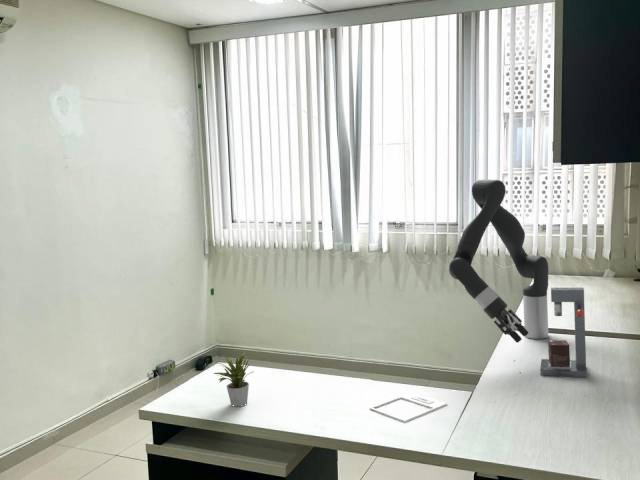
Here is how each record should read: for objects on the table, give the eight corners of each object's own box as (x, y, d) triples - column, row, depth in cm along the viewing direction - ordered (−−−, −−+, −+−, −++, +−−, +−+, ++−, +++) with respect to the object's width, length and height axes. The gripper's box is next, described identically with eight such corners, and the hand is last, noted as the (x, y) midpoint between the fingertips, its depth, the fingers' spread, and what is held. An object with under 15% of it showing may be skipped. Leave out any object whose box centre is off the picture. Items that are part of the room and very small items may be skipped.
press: (541, 364, 211) (538, 285, 208) (585, 366, 205) (583, 285, 203) (540, 380, 195) (537, 295, 192) (587, 383, 190) (585, 295, 187)
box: (570, 366, 199) (569, 344, 198) (551, 366, 200) (550, 345, 200) (567, 361, 205) (566, 340, 204) (548, 361, 206) (547, 340, 206)
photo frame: (447, 402, 179) (404, 420, 168) (447, 406, 179) (405, 424, 169) (411, 391, 191) (369, 407, 180) (411, 394, 191) (369, 410, 180)
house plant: (225, 394, 202) (221, 347, 200) (265, 394, 199) (261, 346, 198) (210, 411, 188) (206, 359, 186) (253, 410, 185) (249, 359, 184)
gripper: (491, 300, 207) (525, 336, 202) (504, 292, 219) (536, 326, 214) (476, 313, 211) (509, 349, 206) (489, 305, 223) (521, 339, 218)
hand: (523, 337), depth 210 cm, fingers open, 8 cm apart
